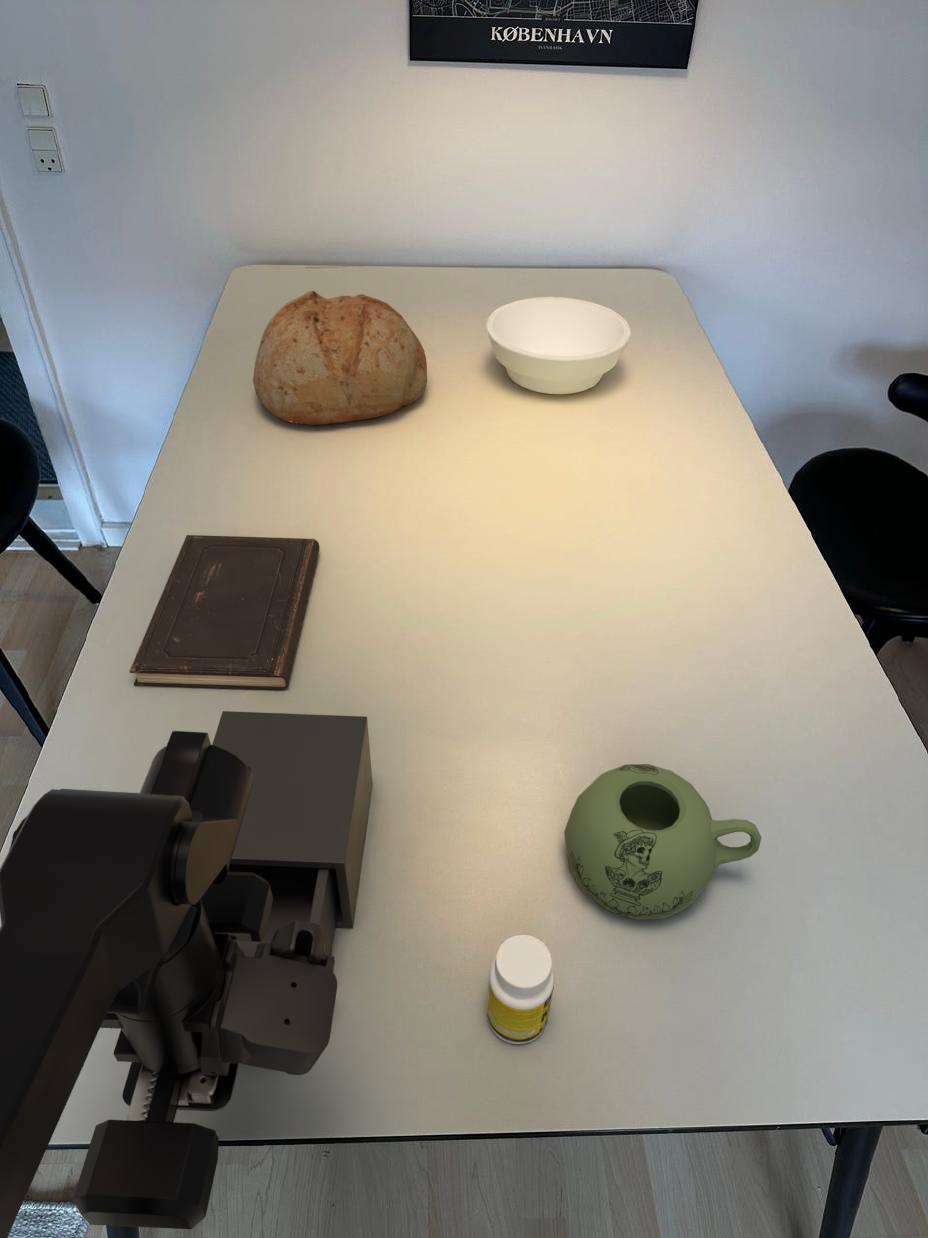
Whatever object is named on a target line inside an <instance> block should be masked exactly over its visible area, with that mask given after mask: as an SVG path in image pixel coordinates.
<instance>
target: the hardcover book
mask: <svg viewBox="0 0 928 1238" xmlns="http://www.w3.org/2000/svg"><path fill="white" fill-rule="evenodd" d="M320 549H321V547H320V543H319V541H318V540H316V539H315V538H296V537H270V536H269V537H268V536H231V535H202V534H201V535H199V534H197V535H196V534H186V535H185V537H184V541H183V543H182V545H181V547H180V550H179V552H178V555H177V557H176V559H175V562H174V564H173V566H172V569H171V571H170V574H169V576H168V578H167V580H166V583H165V585H164V588H163V590H162V593H161V595H160V597H159V599H158V602H157V605H156V606H155V609H154V611H153V614H152V617H151V618H150V622H149V624H148V625H147V629H146V631H145V633H144V635H143V637H142V641H141V642H140V645H139V647H138V650H137V652H136V653H135V657H134V659H133V661H132V664H131V666H130V668H129V674H135V680H134V682H133V686H135V687H161V688H163V687H164V688H165V687H166V688H191V689H192V688H194V689H195V688H197V689H226V690H227V689H228V690H230V689H231V690H257V691H258V690H259V691H260V690H261V691H285V690H286V689H287V688H288V687H289V682H290V677H291V673H292V669H293V665H294V661H295V657H296V651H297V647H298V644H299V639H300V635H301V630H302V626H303V622H304V618H305V615H306V610H307V605H308V602H309V596H310V592H311V589H312V584H313V580H314V576H315V572H316V568H317V562H318V558H319V555H320Z"/></svg>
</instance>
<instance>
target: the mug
mask: <svg viewBox="0 0 928 1238" xmlns="http://www.w3.org/2000/svg"><path fill="white" fill-rule="evenodd" d="M563 833H564V841H565V847H566V853H567V861H568V868H569V871H570V873H571V874H572V876H573V877H574V879H575V881H576V882H577V884H578V886H579V887H580V889H581V890H582V892H583V893H584V894H585V895H586V896H588V897H589V898H590V899H592V900H593V901H595V902H596V903H597V904H598V905H600V906H601V907H602V908H603V909H605V910H606V911H609V912H611V913H615V914H618V915H621V916H623V917H627V918H630V919H633V920H663V919H667V918H669V917H671V916H673V915H675V914H678V913H681V912H682V911H685V910H688V909H689V908H690V906H691V905H692V904H693V903H694V902H695V900H696V899H697V898H698V897H699V896H700V895H701V893H702V892H703V891H704V889H705V888H706V887H707V886H708V885H709V883H710V882H711V881H712V880H713V877H714V872H715V869H716V868H717V867H719V866H720V865H722V864H728V863H732V862H737V861H741V860H742V861H743V860H745V859H748V858H751V857H752V856H753V855H754V854H756V853H757V852H758V851H759V850H760V845H761V842H762V835H761V833H760V831H759V829H758V827H757V824H755V823H753V822H751V821H749V820H747V819H741V818H730V819H724V820H723V819H722V820H721V819H720V820H714V819H713V817H712V815H711V811H710V807H709V806H708V804H707V802H706V800H705V799H704V798H703V797H702V796H701V794H700V792H698V790H697V789H696V788H695V787H694V785H693V784H692V783H691V782H690V781H688V780H686V779H685V778H683V777H682V776H680V775H678V774H677V773H675V772H674V771H673V770H670V769H666V768H663V767H661V766H656V765H653V764H649V763H635V764H634V763H633V764H624V765H621V766H618V767H615V768H612V769H610V770H607V771H605V772H603V773H601V774H600V775H598V777H597V778H595V780H593V781H592V782H591V784H590V785H588V786H587V787H586V788H585V790H583V791H582V792H581V793H580V794H579V795H578V796H577V798H576V800H575V802H574V805H573V807H572V808H571V811H570V814H569V816H568V819H567V822H566V825H565V828H564V831H563ZM734 833H745V834H747V835H748V836H749V837H750V841H748V843H747V844H745V845H741V846H728V845H725V844H722V843H721V842H720V841H719V840H718V838H720V837H723V836H726V835H729V834H734Z"/></svg>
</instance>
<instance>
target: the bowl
mask: <svg viewBox="0 0 928 1238" xmlns="http://www.w3.org/2000/svg"><path fill="white" fill-rule="evenodd" d="M485 329H486V332H487V335H488V339H489V341H490V345H491V348H492V351H493V355H494V357H495V358H496V359H497V361H498V363H500V364H501V365H502V366H503V367H505V370H506V373H507V375H508V377H509V378H510V379H511V381H513V382H514V383H515V384H517V385H518V386H520V387H522V388H525V389H527V390H530V391H533V392H537V393H543V394H548V395H549V394H550V395H551V394H552V395H553V394H554V395H568V394H575V393H580V392H583V391H586V390H589V389H591V388H593V387H594V386H596V385H597V384H598V383H599V382H600V381H601V379H602V377H603V375H604V374H606V373H607V372H609V371H610V370H612V369H613V368H614V367H615V366H616V365H617V363H618V362H619V360H620V358H621V356H622V355H623V353H624V350H625V349H626V347H627V345H628V343H629V341H630V338H631V336H632V335H631V334H632V333H631V327H630V325H629V323H628V322H627V320H626V319H625V318H623V317H622V315H620V314H619V313H617V311H616V312H615V311H614V310H612V309H610V308H609V307H606V306H603V305H601V304H598V303H595V302H592V301H588V300H583V299H578V298H571V297H561V296H539V297H538V296H537V297H530V298H524V299H519V300H514V301H512V302H511V301H510V302H509V303H506V304H503V305H502V306H499V307H498V308H496V309H495V310H494V311H492V313H490V314H489V316H488V318H487V320H486V323H485Z"/></svg>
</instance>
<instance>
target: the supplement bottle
mask: <svg viewBox="0 0 928 1238" xmlns="http://www.w3.org/2000/svg"><path fill="white" fill-rule="evenodd" d="M488 972H489V974H488V984H487V986H488V987H487V994H486V995H487V996H486V1009H485V1013H486V1019H487V1023H488V1025H489V1027H490V1028H491V1031H492V1033H494V1035H495V1036H497V1037H498V1038H499V1039H500V1040H502V1041H504V1042H506V1043H508V1044H513V1045H524V1044H528V1043H531V1042H533V1041H535V1040H536V1039H538V1038H539V1037H540V1036H541V1035H542V1033H543V1032H544V1030H545V1029H546V1026H547V1023H548V1021H549V1020H548V1019H549V1016H550V1015H549V1014H550V1009H551V1004H552V998H553V992H554V987H555V974H554V969H553V959H552V955H551V951H550V949H549V948H548V946H546V944H545V943H544V942H543V941H542V940H540V939H538V938H537V937H536V936H533V935H529V934H517V935H516V934H515V935H512V936H510V937H508V938H507V939H505V940H503V942H502V943H501V944H500V946H499V947H498V949H497V951H496V955H495V957H494V959H493V960H492V963H491V965H490V968H489V971H488Z"/></svg>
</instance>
